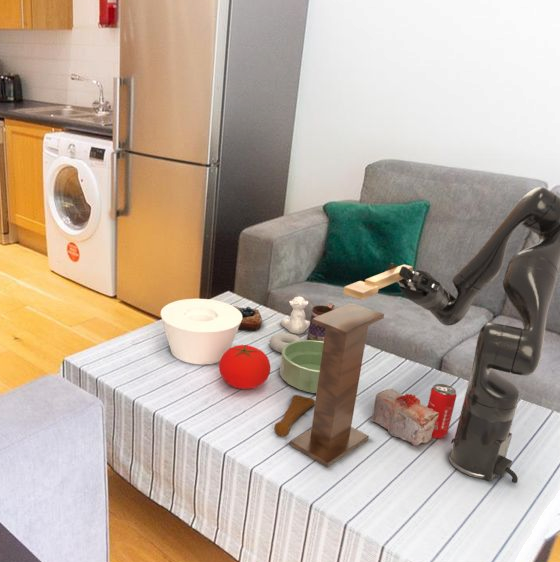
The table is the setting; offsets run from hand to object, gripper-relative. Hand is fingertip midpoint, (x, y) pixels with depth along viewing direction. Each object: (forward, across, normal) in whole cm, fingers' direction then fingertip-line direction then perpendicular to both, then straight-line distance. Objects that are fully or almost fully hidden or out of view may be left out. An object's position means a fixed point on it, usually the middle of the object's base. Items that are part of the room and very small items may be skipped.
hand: (396, 268), depth 132 cm
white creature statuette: (-41, -41, +21) cm, 62 cm away
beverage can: (-24, +14, +31) cm, 41 cm away
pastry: (-32, -55, +26) cm, 69 cm away
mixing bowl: (-23, -19, +31) cm, 43 cm away
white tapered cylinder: (-11, -50, +38) cm, 64 cm away
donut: (-30, -35, +28) cm, 54 cm away
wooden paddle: (+3, 0, +5) cm, 6 cm away
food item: (-18, +9, +34) cm, 40 cm away
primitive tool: (-5, -11, +42) cm, 43 cm away
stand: (-4, +1, +42) cm, 42 cm away
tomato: (-7, -29, +40) cm, 51 cm away
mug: (-40, -31, +22) cm, 55 cm away
